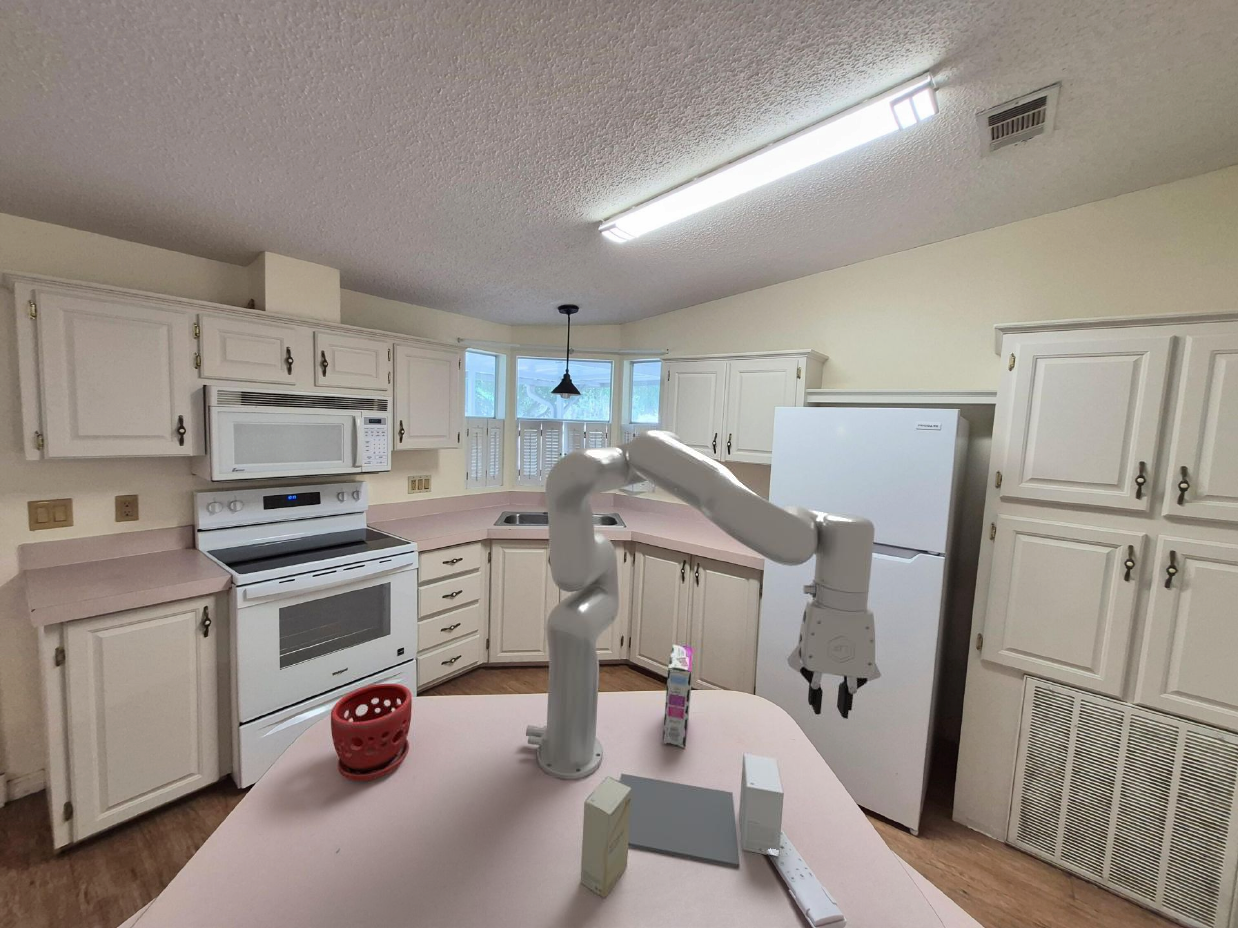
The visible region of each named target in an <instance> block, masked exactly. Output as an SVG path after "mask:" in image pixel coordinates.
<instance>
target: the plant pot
mask: <svg viewBox="0 0 1238 928" xmlns="http://www.w3.org/2000/svg"><path fill="white" fill-rule="evenodd" d="M374 699H378V701H377V702H376V703H373V702H372V700H374ZM398 700H399V701H400V703H399V702H398ZM386 701H389V705H386V704H385V702H386ZM412 701H413V698H412V693H411V691H410V689H409V688H408V687H406V686H404V685H403V684H402V685H401V684H398V683H378V684H372V685H368V686H364V687H362V688H359V689H356V690H354V691H352V692H349V693H347V694H346V695H345V696H343V697H342V698H340V699H339V700H338V701H337V702H336V703H335V704H334V705H333V707H332V709H331V712H330V730H331V731H330V732H331V738H332V743H333V746H334V749H335V752H336V754H337V756H338V757H339V758H338V760H337V769H338V772H339V773H340V775H342V776H343V777H344V778H346V779H348V780H351V781H356V782H361V781H362V782H365V781H366V782H367V781H370V780H375V779H378V778H381V777H383V776H385V775H387V774H390V773H391V772H393V771H394V770H395V769H397V768H398V766H400V765H401V764H402V763H403V762H404V760H405V758H406V757H407V755H408V753H409V749H410V742H409V740H408V739H407V738H408V736H409V731H410V725H411V721H412V708H413V706H412V705H413V704H412V703H413V702H412ZM363 705H365V706H367V710H366V712H365V713H363V714H361V715H358V714H357V712H356V711H357V709H358V708H359V707H360V706H363ZM376 709H379V711H378V712H376ZM393 709H394V711H393ZM347 712H348V714H347V715H346V717H345V714H346V713H347ZM351 719H352V721H350V720H351Z"/></svg>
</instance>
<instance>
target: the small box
mask: <svg viewBox="0 0 1238 928" xmlns="http://www.w3.org/2000/svg"><path fill="white" fill-rule="evenodd" d="M741 769H742V770H741V783H740V795H739V796H740V797H739V806H738V807H739V809H738V811H739V822H740V838H741V849H742V850H743V851H748V852H752V853H758V854H762V855H766V856H768V855H767V850H768V849H770V848H771V849H776V850H779V851H780V845H781V835H782V834H781V833H782V823H783V821H782V819H783V809H784V808H783V807H784V797H785V791H784V788H783V782H782V779H781V773H780V772H781V771H780V768H779V762H778V759H777V758H773V757H767V756H760V755H756V754H752V753H751V754H750V753H745V752H744V753H743V755H742V768H741Z"/></svg>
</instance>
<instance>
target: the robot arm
mask: <svg viewBox="0 0 1238 928" xmlns="http://www.w3.org/2000/svg"><path fill="white" fill-rule="evenodd" d="M645 482H649V483H651V484H652V485H654V486H655V487H657V488H659V489H661V490H663V491H665V492H666V493H668V494H669V495H671V496H673V497H675V498H677V499H679V500H680V501H681V502H683V503H685V504H687V505H689V506H690V507H693V508H694V509H695V510H697V511H699V512H700V513H701V514H702V515H703V516H704V517H705V518H706V519H708V520H709V521H710V522H711V523H713V524H714V525H715V526H716V527H718V528H719V529H720V530H722V531H723V532H724V533H725V534H727V535H728V536H729V537H731V538H733V539H734V540H735V541H737V542H739V543H740V544H741V545H743V546H745V547H747V548H748V549H751V550H752V551H753V552H756V553H757V554H759V555H761V556H763V557H765V558H766V559H768V560H770V561H772V562H774V563H776V564H779V565H783V566H788V567H789V566H790V567H792V566H793V567H794V566H799V565H800V566H801V565H803V564H804V563H806V562H808V561H809V560H810V559H811V558H812V557H813V556H814V555H815V566H814V567H815V569H814V579H812V582H811V584H809V585H807V584H803V589H802V590H803V594H804V595H808V596H811V597H810V598H808V599H807V602H806V604H805V607H804V610H803V611H804V612H803V615H802V620H801V623H800V630H799V635H798V642H797V645H796V647H795V648H794V650H793V651H792V652H791V654H790V655H789V656H788V657H787V659H786V662H787V664H788V666H789V667H790V668H791V669H793V670H794V671H796V672H797V673H799V674H801V676H802V677H803V678H804V679H805V680H806V681H807V683H808V684H809V685H808V692H807V693H808V694H807V701H808V705H809V706H811V708H812V710H813V712H814V715H818V716H819V715H821V714H822V713H821V712H822V703H823V689H822V687H821V681H822V676H823V674H825V675H832V676H840V677H841V676H842V682H840V683H839V685H838V690H837V694H838V695H837V702H836V708H837V709H838V710H837V711H838V712H839V713H840V715H841V717H842V718H843V719H845V720H848V719H849V712H851V711H852V710H853V699H854V695H855V694H857V693H858V690H859V689H861V687H863V686H864V685H866V684H867V683H868V682H872V681H874V680H877V679H880V677H881V676H882V674H881V672H880V670H879V668H878V666H877V663H876V627H875V617H874V611H873V610H872V609H871V608H870V607H868V602H869V601H868V600H869V593H870V592H869V590H870V581H871V574H872V573H871V572H872V562H873V551H874V541H875V532H876V531H875V526H874V523H873V522H872V520H870V519H869V518H866V517H863V516H859V515H854V514H847V513H828V512H827V513H826V512H822V511H818V510H813V509H809V508H804V507H801V506H794V505H787V506H784V507H779V506H778V505H776V504H774V503H772V502H770V501H768V499H767V500H766V499H764V498H763V497H761V496H760V495H758V494H756V493H755V492H754V491H752V490H750V489H749V488H747V487H746V486H745V485H743V483H742V482H740V481H739V479H737V477H735V475H734V474H733V473H732V471H731V470H729V468H728V467H726V465H723V464H722V463H720V462H718V461H716V460H715V459H712V458H710V457H708V456H706V455H704V454H702V453H701V452H699V451H697V450H695V449H693V448H691V447H689V446H687V445H686V444H685V443H684V442H683V440H682V439H681V438H680V437H679V435H677V434H675V433H673V432H671V431H668V430H660V429H659V430H657V429H655V430H653V429H652V430H651V429H650V430H649V429H648V430H645V431H641V432H640V433H639V434H636V435H635V437H634V438H632V440H630V441H627V442H623V443H619V444H616V445H613V446H608V447H607V446H604V447H588V448H587V447H586V448H580V449H577V450H574V451H571V452H569V453H567V454H565V455H564V456H562V457H561V458H560V459H559V460H557V462H555V463H554V464H553V466H552V467H551V468H550V471H549V473H548V475H547V477H546V481H545V501H546V503H545V504H546V509H547V516H548V517H547V518H548V544H549V545H548V546H549V563H550V565H549V566H550V573H551V578H552V581H553V583H554V584H555V586H556V587H557V588H558V589H559V590H561V591H563V592H567V593H571V594H570V595H568V596H567V597H566V598H563V600H561V601H560V602H559V603H557V605H555V607H554V608H552V610H551V611H550V613H549V615H548V617H547V620H546V625H545V632H546V633H545V634H546V641H547V647H548V687H547V688H548V690H547V709H546V710H547V715H546V725H544V726H542V727H541V726H540V727H539V726H535V725H532V724H531V725H529V724H528V725H526V731H525V736H526V737H527V744H529V745H537V746H538V748H537V753H536V755H537V756H536V757H537V763H538V765H539V767H540V768H541V769H542V771H544V772H545V773H546V774H548V775H550V776H551V777H555V778H557V779H561V780H562V779H564V780H575V779H580V778H584V777H586V776H589V775H591V774H592V773H593V772H595V771H596V770H597V769H598V768H599V767H600V765H601V763H602V761H603V753H604V750H603V746H602V744H601V742H600V741H599V739H598V738H597V736H596V735H597V717H598V699H599V698H598V697H599V681H600V679H599V678H600V677H599V676H600V661H599V657H598V653H597V652H598V651H597V641H598V639H599V638H600V637H601V635H603V633H605V631H607V629H609V628H610V627H611V625H612V624H613V623H614V622H615V621H616V618H617V616H618V614H619V606H620V597H619V595H620V594H619V574H618V573H619V572H618V571H619V570H618V558H617V553H616V549H615V547H614V544H613V543H612V541H611V540H610V538H608V537H607V536H606V535H605V534H603V533H600V532H597V531H595V519H594V513H593V510H592V506H591V505H590V501H589V499H590V498H591V497H592V496H595V495H599V494H602V493H603V494H604V493H607V492H611V491H614V490H618V489H622V488H625V487H629V486H632V485H636V484H637V485H638V484H641V483H645ZM572 592H573V593H572Z"/></svg>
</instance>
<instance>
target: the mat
mask: <svg viewBox="0 0 1238 928" xmlns="http://www.w3.org/2000/svg"><path fill="white" fill-rule="evenodd" d="M619 778H620V779H619V782H621V783H623V784H625V785H627V786H629V787H630V788H631V801H630V820H629V840H628V848H629V847H630V848H634V849H638V850H639V849H640V850H644V851H648V852H649V851H650V852H654V853H659V854H665V855H668V856H669V855H670V856H675V857H680V858H683V859H684V858H686V859H691V860H695V861H700V862H705V863H711V864H716V865H721V866H726V867H730V868H737V869H740V868H741V867H740V865H741V863H740V854H739V844H738V835H737V825H736V814H735V806H734V805H735V804H734V796H733V792H731V791H727V790H726V791H725V790H718V789H714V788H708V787H703V786H702V787H701V786H696V785H691V784H684V783H679V782H674V781H667V780H666V781H665V780H661V779H655V778H650V777H645V776H639V775H632V774H626V773H621V774H620V777H619Z"/></svg>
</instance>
